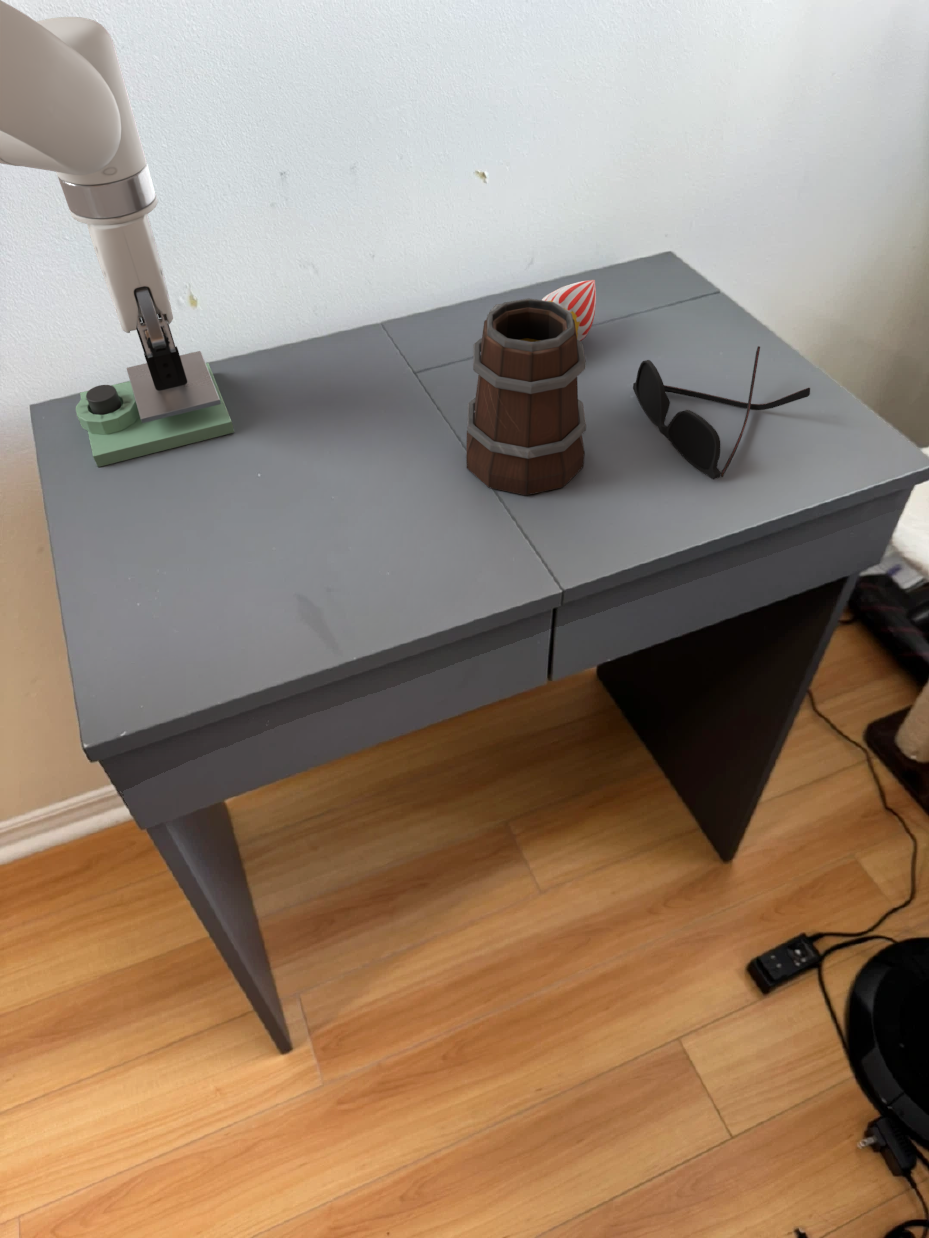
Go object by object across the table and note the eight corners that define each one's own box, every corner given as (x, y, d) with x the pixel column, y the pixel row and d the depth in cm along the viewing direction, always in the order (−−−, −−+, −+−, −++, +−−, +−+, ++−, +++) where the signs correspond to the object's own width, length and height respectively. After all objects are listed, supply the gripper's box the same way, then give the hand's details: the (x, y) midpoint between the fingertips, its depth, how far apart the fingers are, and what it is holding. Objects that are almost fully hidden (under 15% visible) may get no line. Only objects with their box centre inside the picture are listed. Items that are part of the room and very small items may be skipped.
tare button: (93, 418, 89) (87, 404, 88) (90, 403, 91) (84, 388, 89) (123, 411, 90) (117, 397, 88) (119, 396, 91) (113, 381, 90)
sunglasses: (829, 452, 87) (844, 409, 83) (701, 486, 84) (711, 444, 80) (738, 364, 97) (748, 323, 94) (621, 392, 94) (627, 351, 91)
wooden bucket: (602, 479, 85) (619, 341, 74) (484, 506, 83) (483, 368, 71) (544, 391, 95) (551, 257, 83) (438, 413, 93) (430, 279, 81)
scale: (93, 468, 88) (82, 444, 86) (79, 404, 95) (69, 380, 93) (234, 432, 91) (228, 408, 89) (211, 373, 99) (204, 349, 96)
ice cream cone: (497, 421, 99) (588, 308, 105) (534, 415, 93) (627, 296, 100) (465, 378, 95) (561, 264, 102) (502, 369, 90) (600, 250, 97)
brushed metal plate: (142, 423, 88) (140, 418, 87) (127, 372, 94) (126, 367, 93) (221, 404, 89) (219, 399, 89) (202, 355, 96) (200, 350, 95)
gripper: (56, 162, 81) (118, 339, 94) (75, 239, 70) (142, 426, 84) (138, 148, 82) (188, 324, 96) (169, 221, 72) (220, 407, 86)
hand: (166, 370), depth 90 cm, fingers closed on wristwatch, 5 cm apart
